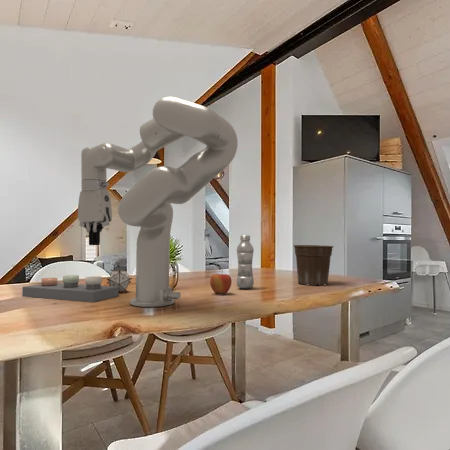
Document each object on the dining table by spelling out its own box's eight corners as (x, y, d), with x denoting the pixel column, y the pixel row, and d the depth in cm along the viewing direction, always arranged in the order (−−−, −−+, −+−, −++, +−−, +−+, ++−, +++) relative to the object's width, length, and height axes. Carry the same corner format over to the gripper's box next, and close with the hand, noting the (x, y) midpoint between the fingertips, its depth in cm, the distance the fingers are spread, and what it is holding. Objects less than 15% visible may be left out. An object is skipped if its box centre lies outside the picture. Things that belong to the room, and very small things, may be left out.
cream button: (104, 291, 117) (105, 276, 117) (94, 293, 113) (94, 278, 113) (92, 290, 119) (92, 276, 119) (81, 292, 114) (82, 277, 114)
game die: (121, 303, 126) (122, 282, 121) (100, 294, 128) (100, 272, 122) (135, 288, 134) (137, 267, 128) (115, 279, 135) (116, 258, 130)
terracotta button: (60, 291, 123) (60, 278, 124) (49, 293, 119) (49, 279, 119) (49, 290, 125) (49, 277, 125) (37, 292, 121) (38, 278, 121)
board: (118, 296, 120) (118, 286, 120) (93, 302, 108) (93, 291, 108) (51, 291, 129) (52, 282, 129) (22, 296, 118) (22, 286, 118)
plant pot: (336, 282, 158) (336, 245, 158) (330, 287, 143) (330, 246, 144) (298, 280, 164) (298, 244, 165) (289, 285, 150) (289, 245, 150)
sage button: (82, 289, 120) (82, 275, 120) (71, 291, 116) (71, 277, 116) (70, 288, 122) (70, 274, 122) (59, 290, 117) (59, 276, 118)
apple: (207, 295, 123) (207, 271, 123) (213, 292, 130) (213, 269, 130) (228, 296, 121) (228, 271, 121) (233, 293, 128) (233, 269, 128)
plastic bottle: (256, 288, 139) (257, 235, 140) (248, 290, 133) (248, 235, 134) (242, 287, 143) (242, 235, 143) (233, 289, 137) (233, 235, 138)
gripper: (121, 187, 118) (121, 244, 117) (83, 190, 123) (83, 245, 122) (105, 183, 111) (106, 245, 110) (66, 187, 116) (66, 245, 115)
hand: (94, 244), depth 116 cm, fingers closed
